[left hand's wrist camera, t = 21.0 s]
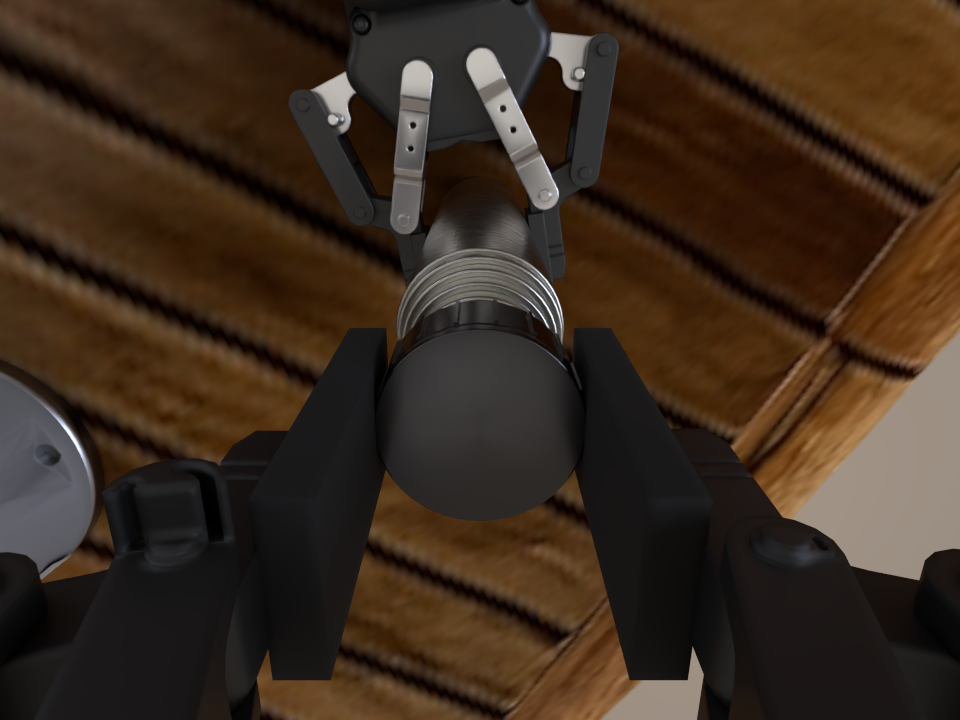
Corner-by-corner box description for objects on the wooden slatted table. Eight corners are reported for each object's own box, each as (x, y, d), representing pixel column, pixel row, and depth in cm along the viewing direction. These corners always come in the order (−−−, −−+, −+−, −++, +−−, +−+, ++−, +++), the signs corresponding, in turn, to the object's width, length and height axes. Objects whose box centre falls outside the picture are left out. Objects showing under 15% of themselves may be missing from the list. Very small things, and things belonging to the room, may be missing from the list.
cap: (368, 452, 15) (352, 500, 13) (404, 276, 13) (393, 302, 12) (545, 490, 15) (554, 541, 13) (599, 322, 14) (617, 354, 12)
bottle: (527, 254, 37) (606, 499, 14) (445, 267, 37) (390, 528, 14) (515, 170, 35) (584, 286, 12) (430, 184, 35) (340, 323, 12)
